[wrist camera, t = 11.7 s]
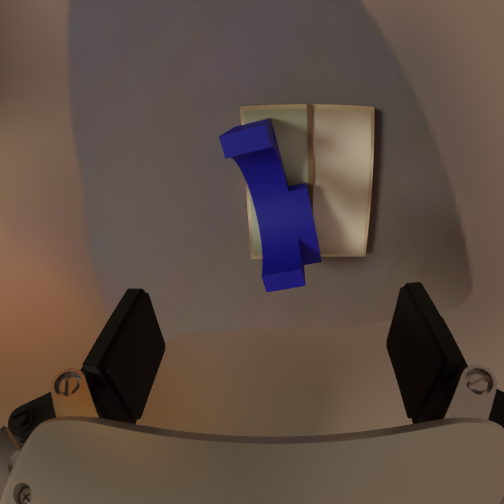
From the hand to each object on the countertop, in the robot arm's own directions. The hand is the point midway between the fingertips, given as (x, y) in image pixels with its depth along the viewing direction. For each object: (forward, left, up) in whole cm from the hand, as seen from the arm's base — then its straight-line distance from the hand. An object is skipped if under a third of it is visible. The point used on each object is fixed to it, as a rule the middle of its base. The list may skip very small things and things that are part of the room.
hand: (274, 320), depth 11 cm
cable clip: (0, 0, -17) cm, 17 cm away
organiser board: (0, +3, -18) cm, 18 cm away
